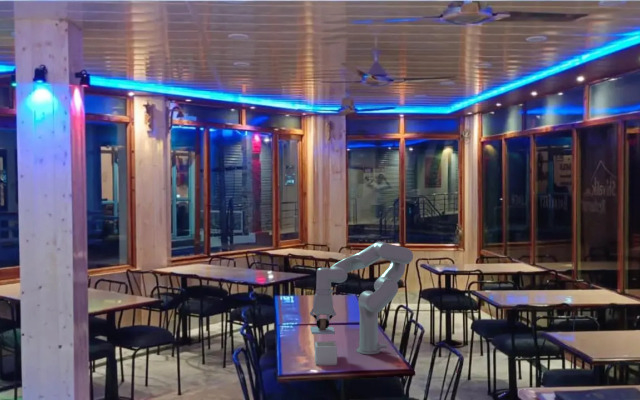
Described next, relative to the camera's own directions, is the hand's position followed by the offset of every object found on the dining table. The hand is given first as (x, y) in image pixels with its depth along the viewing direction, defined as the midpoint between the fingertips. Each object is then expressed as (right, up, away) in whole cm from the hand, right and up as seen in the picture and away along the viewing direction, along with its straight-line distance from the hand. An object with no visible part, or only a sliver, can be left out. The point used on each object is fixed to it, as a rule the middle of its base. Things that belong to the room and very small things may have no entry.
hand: (322, 327), depth 312 cm
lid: (0, -2, 0) cm, 2 cm away
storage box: (+1, -14, -13) cm, 20 cm away
